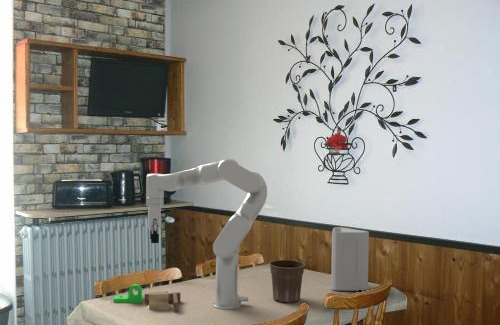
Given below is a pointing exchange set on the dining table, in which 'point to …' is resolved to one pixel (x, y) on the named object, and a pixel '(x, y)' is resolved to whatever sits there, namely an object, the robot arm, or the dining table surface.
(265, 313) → the dining table surface
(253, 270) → the dining table surface
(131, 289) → the mechanical part
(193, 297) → the dining table surface
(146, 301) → the arena
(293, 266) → the plant pot
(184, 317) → the dining table surface
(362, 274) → the grey tall block
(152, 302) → the block
